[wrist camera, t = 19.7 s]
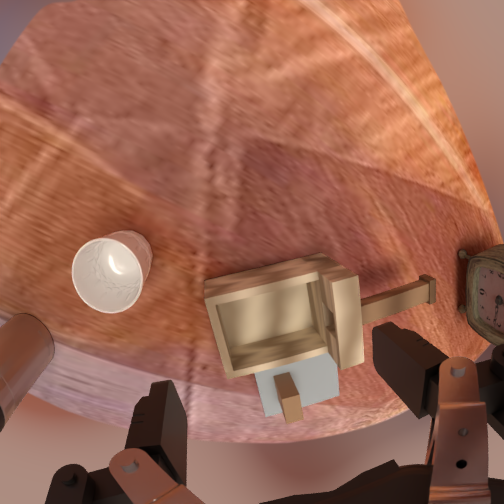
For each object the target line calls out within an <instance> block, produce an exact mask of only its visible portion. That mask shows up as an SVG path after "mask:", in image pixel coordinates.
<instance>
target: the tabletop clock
mask: <svg viewBox="0 0 504 504" xmlns="http://www.w3.org/2000/svg"><path fill="white" fill-rule="evenodd" d="M459 257H460V258H461V259H464V258H467V259H468V260H469V261H468V265H467V275H466V306H465V305H460V306H459V309H458V310H459V312H460V313H465V312H466V316H467V321H468V324H469V325H470V326H471V328H472V329H473V330H474V331H475V332H476V333H478V334H479V335H480V336H482V337H483V338H484V339H486V340H487V341H488V342H490V343H492V344H494V345H496V346H498V345H500V344H504V244H499V245H496V246H494V247H492V248H489V249H487V250H485V251H483V252H480V253H478V254H476V255H474V256H471V257H470V256H468V255H467V252H466V251H465V250H464V249H462V250H460V251H459Z"/></svg>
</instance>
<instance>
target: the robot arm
mask: <svg viewBox="0 0 504 504" xmlns="http://www.w3.org/2000/svg"><path fill="white" fill-rule="evenodd" d="M372 342H373V363H374V366H375V369H376V371H377V372H378V374H379V375H380V376H381V377H382V378H383V379H384V380H385V382H386V383H387V384H388V385H389V386H390V387H391V388H392V390H393V391H394V392H395V393H396V394H397V395H398V396H399V397H400V399H401V400H402V401H403V402H404V403H405V404H406V405H407V406H408V408H409V409H410V410H411V411H412V412H413V413H414V414H415V415H416V417H417V418H418V419H420V418H422V417H424V416H426V415H428V414H429V415H430V416H431V417H432V418H431V423H430V431H429V439H428V446H427V453H426V459H425V464H414V465H404V466H400V467H399V466H398V465H397V463H396V462H395V460H391V461H389V462H386V463H384V464H382V465H379V466H377V467H375V468H372V469H370V470H368V471H365V472H363V473H361V474H360V475H358V476H357V477H355V478H353V479H352V480H351V481H349V482H347V483H345V484H344V485H342V486H340V487H339V488H337V489H336V490H333V491H330V492H323V493H313V494H304V495H303V494H302V495H293V496H289V497H285V498H281V499H277V500H273V501H268V502H263V503H259V504H504V480H501V479H495V478H489V477H488V429H487V423H488V424H489V425H490V426H491V427H492V428H493V429H494V430H495V431H496V432H497V433H498V434H499V435H500V436H501V437H502V439H503V440H504V344H500V345H498V346H496V347H495V348H494V350H493V352H492V356H491V359H490V360H486V361H483V362H479V363H474V362H473V361H472V360H470V359H468V358H466V357H451V358H449V357H448V356H447V355H445V354H444V353H443V352H441V351H440V350H439V349H437V348H436V347H435V346H433V345H432V344H429V342H428V341H427V340H425V339H423V337H421V336H420V335H419V334H417V333H416V332H414V331H411V330H408V329H405V328H404V329H400V328H399V327H398V326H396V325H395V324H394V323H393V322H387V323H384V324H382V325H379V326H376V327H374V328H373V330H372ZM53 355H54V344H53V340H52V337H51V335H50V333H49V331H48V330H47V329H46V327H45V326H44V325H43V324H42V323H41V322H40V321H39V320H38V319H36V318H35V317H33V316H31V315H28V314H17V315H15V316H14V317H12V318H11V319H10V320H9V321H8V322H6V323H5V324H4V325H3V326H1V327H0V432H1V431H2V429H3V427H4V426H5V424H6V423H7V421H8V420H9V418H10V417H11V415H12V414H13V412H14V411H15V409H16V408H17V406H18V405H19V403H20V402H21V401H22V399H23V398H24V396H25V395H26V394H27V392H28V391H29V390H30V388H31V387H32V385H33V384H34V383H35V381H36V380H37V379H38V377H39V376H40V374H41V373H42V372H43V371H44V369H45V368H46V367H47V365H48V364H49V363H50V361H51V360H52V358H53ZM186 460H187V417H186V413H185V410H184V407H183V405H182V403H181V400H180V398H179V396H178V393H177V391H176V388H175V386H174V384H173V382H172V380H166V381H160V382H154V383H152V384H151V388H150V393H149V396H145V397H142V398H141V399H140V400H139V402H138V403H137V404H136V405H135V408H134V412H133V417H132V420H131V424H130V428H129V432H128V436H127V440H126V445H125V449H124V450H122V451H120V452H119V453H117V454H116V455H115V456H114V457H113V458H112V459H111V461H110V463H109V467H107V468H104V469H101V470H97V471H93V472H89V473H88V472H87V471H86V469H85V468H84V467H82V466H80V465H78V464H69V465H66V466H63V467H61V468H60V469H59V470H58V471H57V472H56V473H55V474H54V476H53V479H52V482H51V485H50V488H49V492H48V495H47V498H46V501H45V504H205V503H204V502H203V501H201V500H200V499H199V498H198V497H197V496H195V495H194V494H193V493H192V492H191V491H190V490H189V489H187V488H186V470H187V469H186V468H187V461H186Z"/></svg>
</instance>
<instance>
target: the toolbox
mask: <svg viewBox="0 0 504 504" xmlns="http://www.w3.org/2000/svg"><path fill="white" fill-rule="evenodd" d="M204 300H205V304H206V307H207V311H208V314H209V318H210V322H211V325H212V329H213V332H214V336H215V339H216V343H217V346H218V349H219V353H220V356H221V360H222V363H223V366H224V370H225V373H226V376H227V379H230V378H235V377H239V376H244V375H248V374H252V373H256V372H260V371H264V370H268V369H272V368H276V367H280V366H283V365H287V364H291V363H294V362H298V361H301V360H305V359H308V358H312V357H315V356H318V355H321V354H325V353H329V354H330V356H331V357H332V358H333V360H334V361H335V363H336V364H337V365H338V367H339V368H340V370H343V369H346V368H349V367H352V366H355V365H357V364H360V363H363V362H364V347H363V329H362V314H361V301H360V289H359V278H358V275H357V274H355V273H353V272H352V271H350V270H349V269H347V268H345V267H344V266H342V265H341V264H339V263H337V262H336V261H334V260H332V259H331V258H329V257H328V256H326V255H324V254H323V253H317V254H313V255H309V256H305V257H301V258H297V259H293V260H289V261H284V262H280V263H276V264H272V265H268V266H264V267H259V268H255V269H251V270H247V271H242V272H238V273H234V274H230V275H225V276H221V277H217V278H212V279H208V280H204Z"/></svg>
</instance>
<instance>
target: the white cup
mask: <svg viewBox="0 0 504 504" xmlns="http://www.w3.org/2000/svg"><path fill="white" fill-rule="evenodd" d="M152 258H153V254H152V251H151V247H150V244H149V243H148V241H147V240H146V239H145V238H144V236H143V235H141V234H139V233H137V232H135V231H133V230H121V231H118V232H113V233H110V234H107V235H104V236H102V237H99V238H97V239H94V240H91V241H89V242H87V243H86V244H84V245H83V246H82V247H81V248H80V249H79V251H78V252H77V254H76V256H75V258H74V261H73V265H72V279H73V283H74V286H75V289H76V291H77V293H78V294H79V296H80V297H81V299H82V300H83V301H84V302H85V303H86V304H87V305H89V306H90V307H92V308H93V309H95V310H97V311H100V312H104V313H118V312H122V311H124V310H126V309H128V308H129V307H131V306H132V305H133V304H134V303H135V302H136V300H137V299H138V297H139V295H140V293H141V291H142V288H143V286H144V284H145V282H146V279H147V276H148V274H149V271H150V268H151V263H152Z"/></svg>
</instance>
